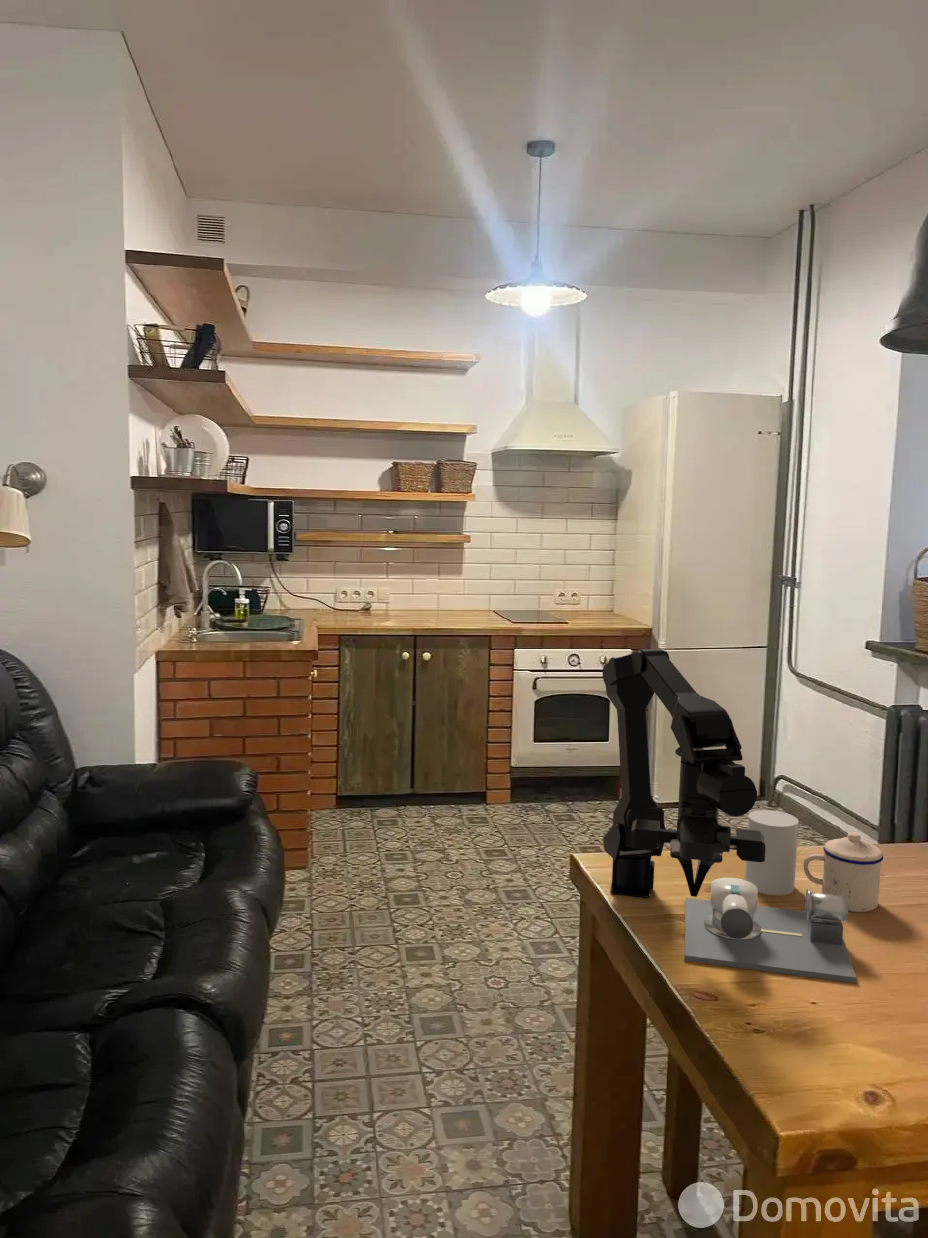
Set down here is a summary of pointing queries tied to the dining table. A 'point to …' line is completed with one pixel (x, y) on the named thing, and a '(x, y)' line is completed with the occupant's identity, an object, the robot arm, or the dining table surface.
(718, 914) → the duct stub
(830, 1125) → the dining table surface
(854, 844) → the teacup with lid
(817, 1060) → the dining table surface
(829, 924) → the duct run
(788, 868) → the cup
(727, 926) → the elbow
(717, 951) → the board
